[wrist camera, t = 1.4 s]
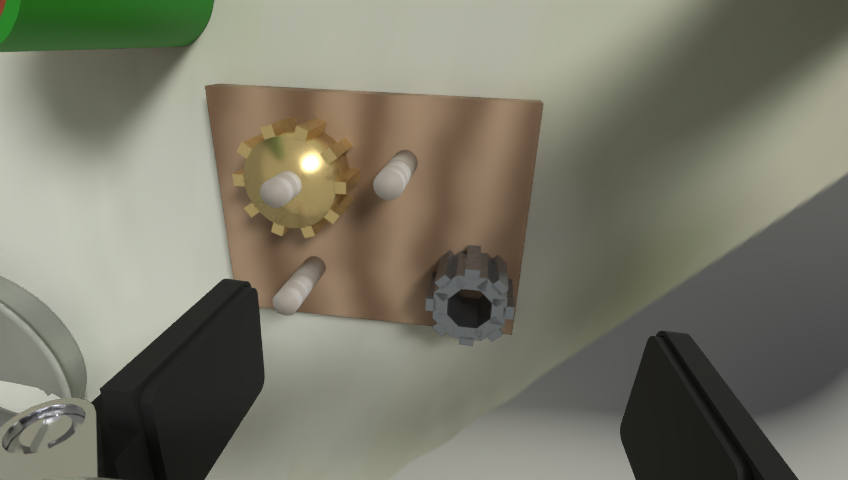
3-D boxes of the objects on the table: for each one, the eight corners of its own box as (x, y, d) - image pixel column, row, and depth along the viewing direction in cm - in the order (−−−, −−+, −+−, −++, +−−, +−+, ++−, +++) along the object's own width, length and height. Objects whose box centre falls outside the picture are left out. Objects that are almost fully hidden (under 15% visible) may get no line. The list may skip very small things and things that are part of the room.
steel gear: (516, 248, 37) (519, 274, 33) (506, 318, 40) (508, 350, 36) (434, 241, 38) (427, 265, 34) (430, 310, 41) (424, 340, 37)
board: (540, 100, 34) (555, 116, 27) (510, 322, 42) (515, 384, 35) (218, 83, 37) (147, 94, 30) (247, 294, 45) (197, 346, 38)
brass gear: (359, 120, 35) (343, 128, 31) (361, 223, 38) (347, 242, 35) (252, 113, 36) (225, 121, 32) (263, 215, 39) (240, 232, 36)
